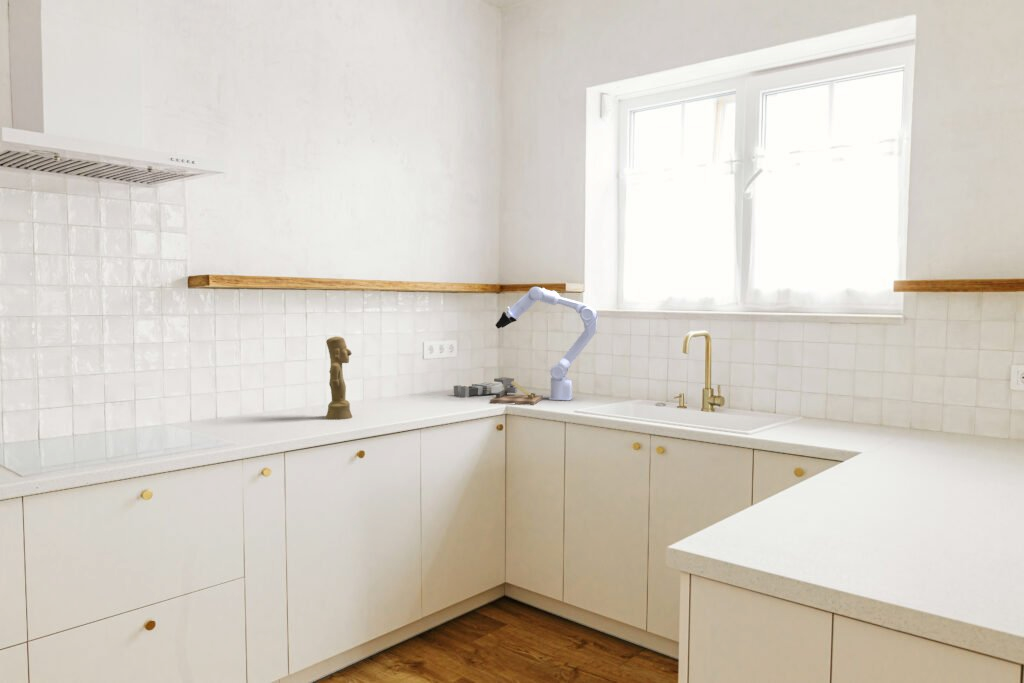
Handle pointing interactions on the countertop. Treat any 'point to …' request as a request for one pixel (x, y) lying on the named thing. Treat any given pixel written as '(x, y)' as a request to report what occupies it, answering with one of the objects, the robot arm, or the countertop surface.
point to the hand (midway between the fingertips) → (498, 326)
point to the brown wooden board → (516, 398)
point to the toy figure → (483, 387)
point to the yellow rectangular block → (520, 388)
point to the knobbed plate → (511, 389)
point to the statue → (338, 379)
